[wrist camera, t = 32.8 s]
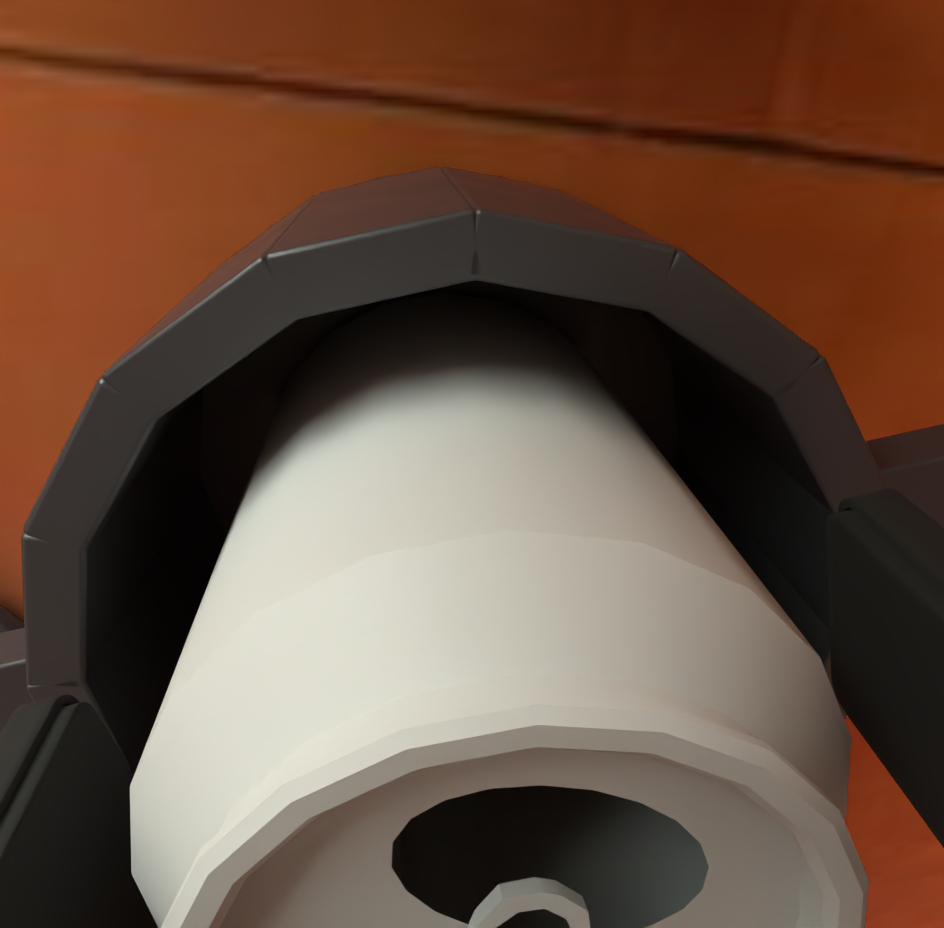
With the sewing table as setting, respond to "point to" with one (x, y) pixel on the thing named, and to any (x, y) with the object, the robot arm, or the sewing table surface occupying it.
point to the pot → (361, 290)
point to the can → (486, 668)
